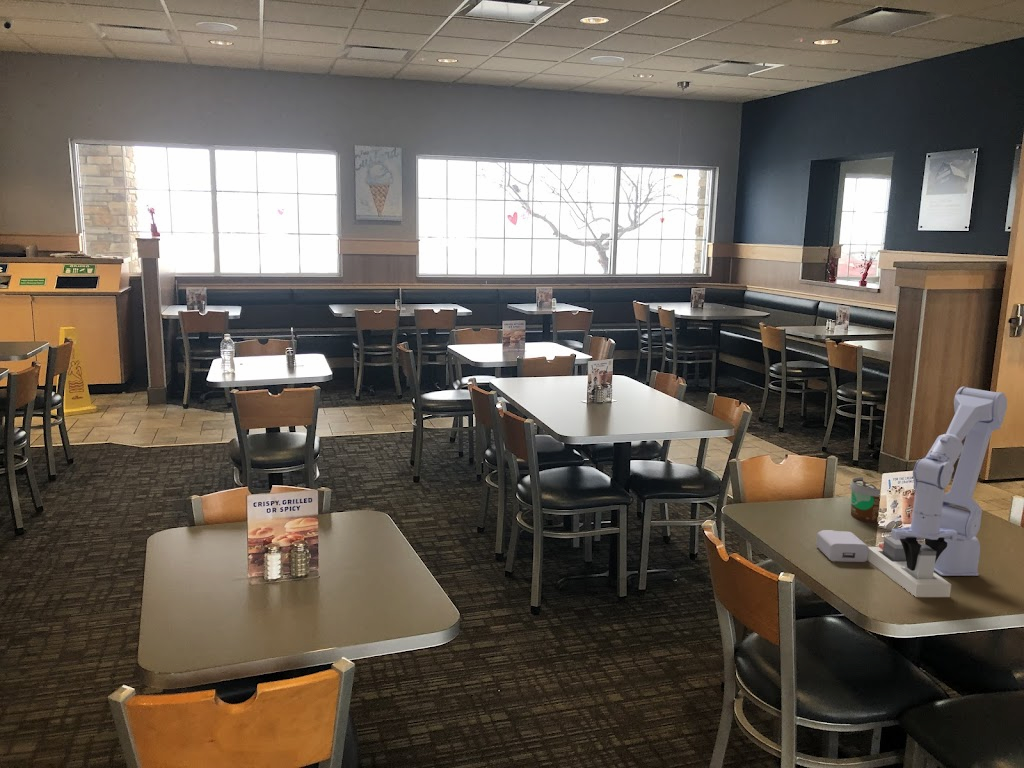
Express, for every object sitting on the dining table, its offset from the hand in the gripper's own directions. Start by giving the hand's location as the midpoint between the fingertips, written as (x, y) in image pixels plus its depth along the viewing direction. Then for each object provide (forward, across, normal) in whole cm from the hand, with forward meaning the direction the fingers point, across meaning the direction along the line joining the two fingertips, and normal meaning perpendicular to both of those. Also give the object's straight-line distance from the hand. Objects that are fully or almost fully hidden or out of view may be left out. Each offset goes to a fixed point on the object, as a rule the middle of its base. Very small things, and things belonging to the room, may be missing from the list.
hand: (919, 568), depth 188 cm
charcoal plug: (+4, 0, +10) cm, 11 cm away
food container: (+4, +10, +46) cm, 47 cm away
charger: (+4, -9, +21) cm, 24 cm away
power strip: (+4, 0, +5) cm, 6 cm away
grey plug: (+2, 0, 0) cm, 2 cm away
